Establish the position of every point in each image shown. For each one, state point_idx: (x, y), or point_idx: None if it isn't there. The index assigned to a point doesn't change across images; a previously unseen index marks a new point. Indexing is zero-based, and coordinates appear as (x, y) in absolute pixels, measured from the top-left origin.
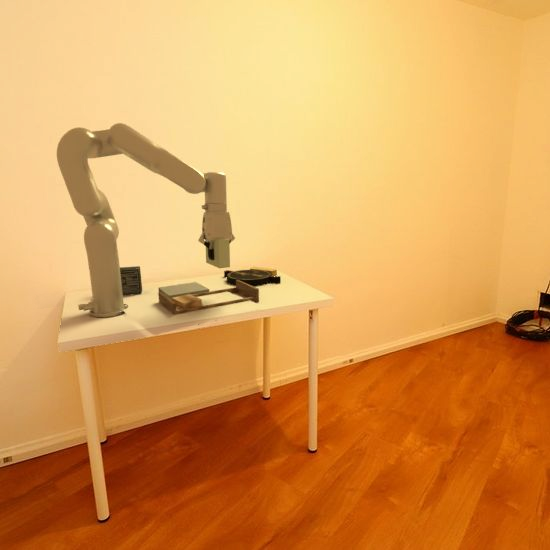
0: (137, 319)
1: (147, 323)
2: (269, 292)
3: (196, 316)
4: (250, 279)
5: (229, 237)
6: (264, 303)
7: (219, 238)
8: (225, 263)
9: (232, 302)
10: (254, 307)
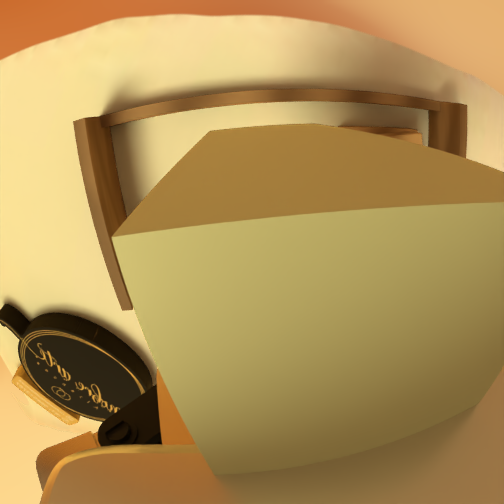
0: (489, 158)
1: (483, 113)
2: (36, 221)
3: (380, 70)
4: (76, 338)
5: (98, 477)
6: (90, 87)
7: (395, 445)
8: (260, 127)
9: (221, 93)
10: (145, 52)
